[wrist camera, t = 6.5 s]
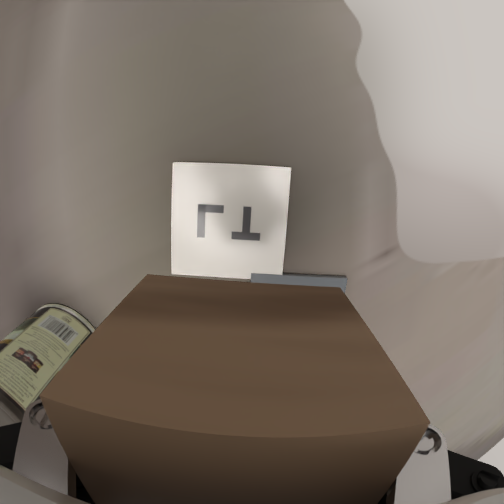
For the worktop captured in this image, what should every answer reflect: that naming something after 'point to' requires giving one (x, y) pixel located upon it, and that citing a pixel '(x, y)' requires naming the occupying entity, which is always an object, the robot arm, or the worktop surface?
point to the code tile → (228, 219)
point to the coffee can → (37, 356)
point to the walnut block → (233, 399)
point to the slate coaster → (301, 280)
